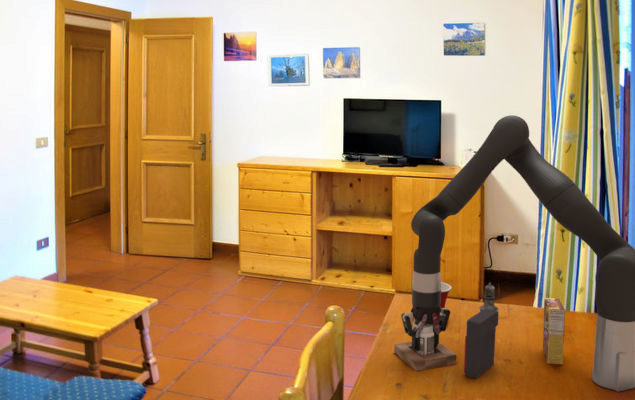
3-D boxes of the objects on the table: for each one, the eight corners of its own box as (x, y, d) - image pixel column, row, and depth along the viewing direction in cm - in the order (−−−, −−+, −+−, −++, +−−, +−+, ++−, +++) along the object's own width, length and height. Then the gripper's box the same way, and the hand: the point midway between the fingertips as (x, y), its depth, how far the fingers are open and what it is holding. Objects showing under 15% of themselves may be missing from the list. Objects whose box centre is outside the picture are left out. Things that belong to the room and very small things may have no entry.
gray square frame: (456, 363, 167) (456, 354, 167) (415, 371, 163) (416, 361, 163) (432, 346, 179) (432, 338, 178) (394, 352, 174) (394, 344, 174)
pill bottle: (433, 351, 173) (433, 322, 171) (434, 358, 168) (435, 328, 167) (415, 350, 173) (416, 321, 172) (416, 358, 169) (417, 328, 167)
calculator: (480, 360, 169) (483, 307, 166) (496, 365, 166) (498, 310, 164) (462, 375, 161) (464, 319, 158) (477, 380, 158) (480, 323, 155)
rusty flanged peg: (474, 317, 200) (476, 280, 198) (489, 314, 203) (491, 278, 200) (487, 323, 195) (488, 286, 193) (502, 320, 197) (504, 283, 195)
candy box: (541, 350, 176) (544, 297, 173) (557, 351, 175) (560, 298, 172) (545, 363, 167) (548, 308, 164) (562, 365, 166) (566, 309, 163)
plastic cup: (453, 327, 192) (455, 289, 190) (418, 327, 192) (418, 289, 190) (446, 314, 203) (447, 278, 201) (412, 314, 203) (413, 278, 201)
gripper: (409, 294, 161) (408, 357, 164) (457, 287, 166) (456, 349, 169) (395, 286, 168) (395, 346, 171) (442, 279, 173) (441, 339, 176)
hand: (425, 347), depth 170 cm, fingers closed on pill bottle, 4 cm apart
